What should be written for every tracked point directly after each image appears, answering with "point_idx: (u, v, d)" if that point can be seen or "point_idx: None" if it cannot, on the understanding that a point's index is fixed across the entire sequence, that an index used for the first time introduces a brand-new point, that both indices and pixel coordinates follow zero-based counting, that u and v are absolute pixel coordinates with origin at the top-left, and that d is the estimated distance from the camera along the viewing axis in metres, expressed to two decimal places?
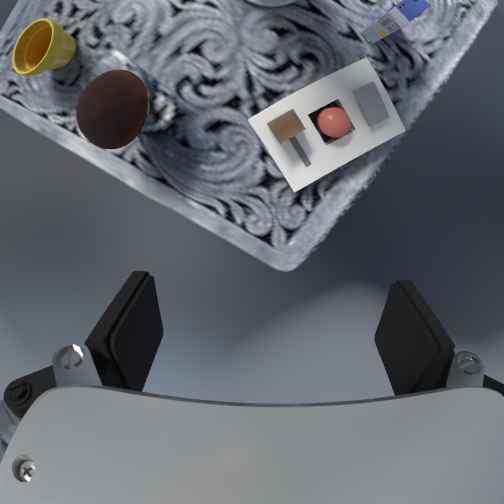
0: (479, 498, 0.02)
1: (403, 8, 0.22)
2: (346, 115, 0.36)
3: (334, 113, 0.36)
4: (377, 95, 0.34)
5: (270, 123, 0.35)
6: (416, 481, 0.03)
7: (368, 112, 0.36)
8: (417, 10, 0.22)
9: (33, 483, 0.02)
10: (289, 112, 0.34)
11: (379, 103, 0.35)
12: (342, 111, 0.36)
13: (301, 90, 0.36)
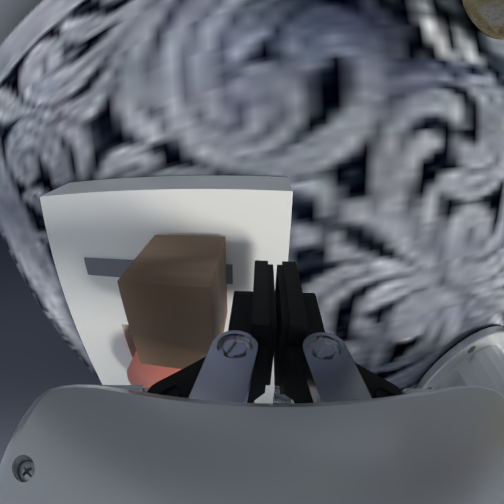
0: (479, 498, 0.02)
1: None
2: None
3: None
4: None
5: (204, 298, 0.09)
6: (416, 481, 0.03)
7: None
8: None
9: (34, 483, 0.02)
10: None
11: None
12: None
13: None
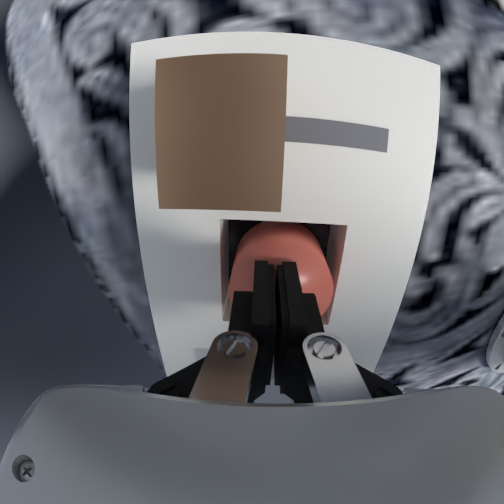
0: (479, 498, 0.02)
1: None
2: None
3: None
4: None
5: (279, 69, 0.06)
6: (416, 481, 0.03)
7: None
8: None
9: (33, 483, 0.02)
10: (275, 185, 0.07)
11: None
12: None
13: (412, 254, 0.12)
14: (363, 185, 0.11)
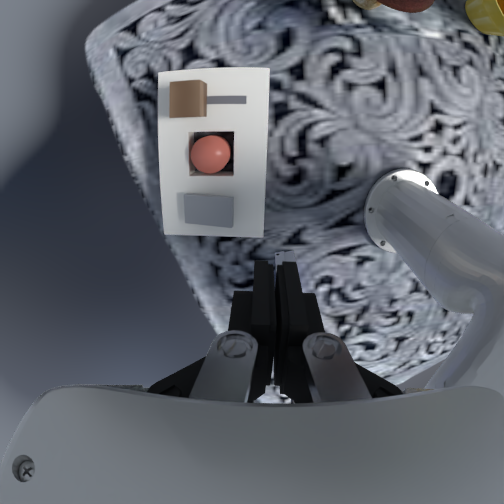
0: (479, 498, 0.02)
1: None
2: (210, 171, 0.33)
3: (219, 159, 0.32)
4: (215, 222, 0.34)
5: (198, 83, 0.25)
6: (416, 481, 0.03)
7: (200, 201, 0.33)
8: None
9: (34, 483, 0.02)
10: (197, 110, 0.26)
11: (205, 219, 0.34)
12: (217, 169, 0.32)
13: (265, 142, 0.32)
14: (238, 116, 0.31)
